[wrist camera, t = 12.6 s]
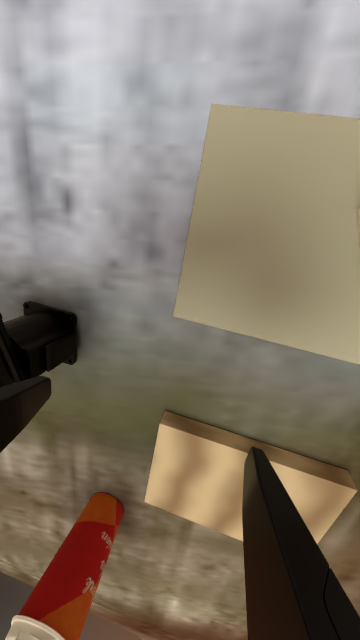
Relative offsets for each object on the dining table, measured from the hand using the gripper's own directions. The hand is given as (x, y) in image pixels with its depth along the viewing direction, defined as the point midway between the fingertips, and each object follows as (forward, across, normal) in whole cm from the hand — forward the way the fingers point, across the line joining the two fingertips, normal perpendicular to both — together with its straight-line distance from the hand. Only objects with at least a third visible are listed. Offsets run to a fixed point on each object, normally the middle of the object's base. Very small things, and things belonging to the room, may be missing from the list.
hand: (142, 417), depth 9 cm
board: (+13, -9, +19) cm, 25 cm away
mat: (+13, -9, -8) cm, 18 cm away
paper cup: (+13, +7, +34) cm, 37 cm away
